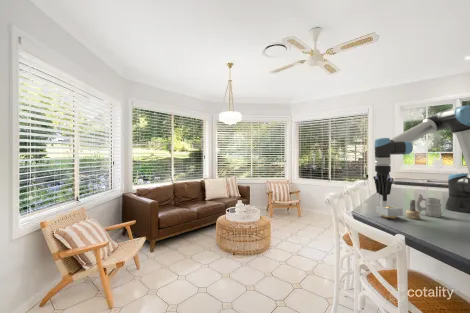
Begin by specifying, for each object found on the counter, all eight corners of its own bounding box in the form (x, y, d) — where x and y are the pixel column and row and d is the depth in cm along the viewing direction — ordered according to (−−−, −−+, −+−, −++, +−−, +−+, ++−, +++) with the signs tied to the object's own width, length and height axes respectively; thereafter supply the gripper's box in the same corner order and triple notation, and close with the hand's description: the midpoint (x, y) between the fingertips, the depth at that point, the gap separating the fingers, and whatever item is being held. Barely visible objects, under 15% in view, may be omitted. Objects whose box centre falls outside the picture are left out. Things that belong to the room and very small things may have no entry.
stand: (413, 216, 134) (412, 199, 133) (422, 219, 128) (422, 201, 128) (403, 216, 133) (403, 199, 133) (412, 219, 127) (412, 201, 127)
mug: (441, 218, 129) (441, 196, 129) (415, 214, 137) (414, 194, 137) (442, 215, 134) (442, 194, 134) (417, 212, 143) (416, 192, 142)
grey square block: (390, 211, 137) (390, 205, 137) (402, 215, 128) (402, 208, 128) (376, 212, 136) (376, 205, 136) (387, 216, 127) (387, 209, 127)
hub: (390, 215, 136) (390, 205, 136) (399, 218, 129) (399, 208, 129) (379, 216, 135) (378, 206, 135) (388, 219, 128) (388, 208, 128)
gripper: (368, 164, 138) (369, 204, 138) (385, 165, 125) (385, 209, 125) (380, 164, 138) (381, 203, 139) (397, 165, 126) (398, 208, 126)
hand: (383, 206), depth 132 cm, fingers closed
